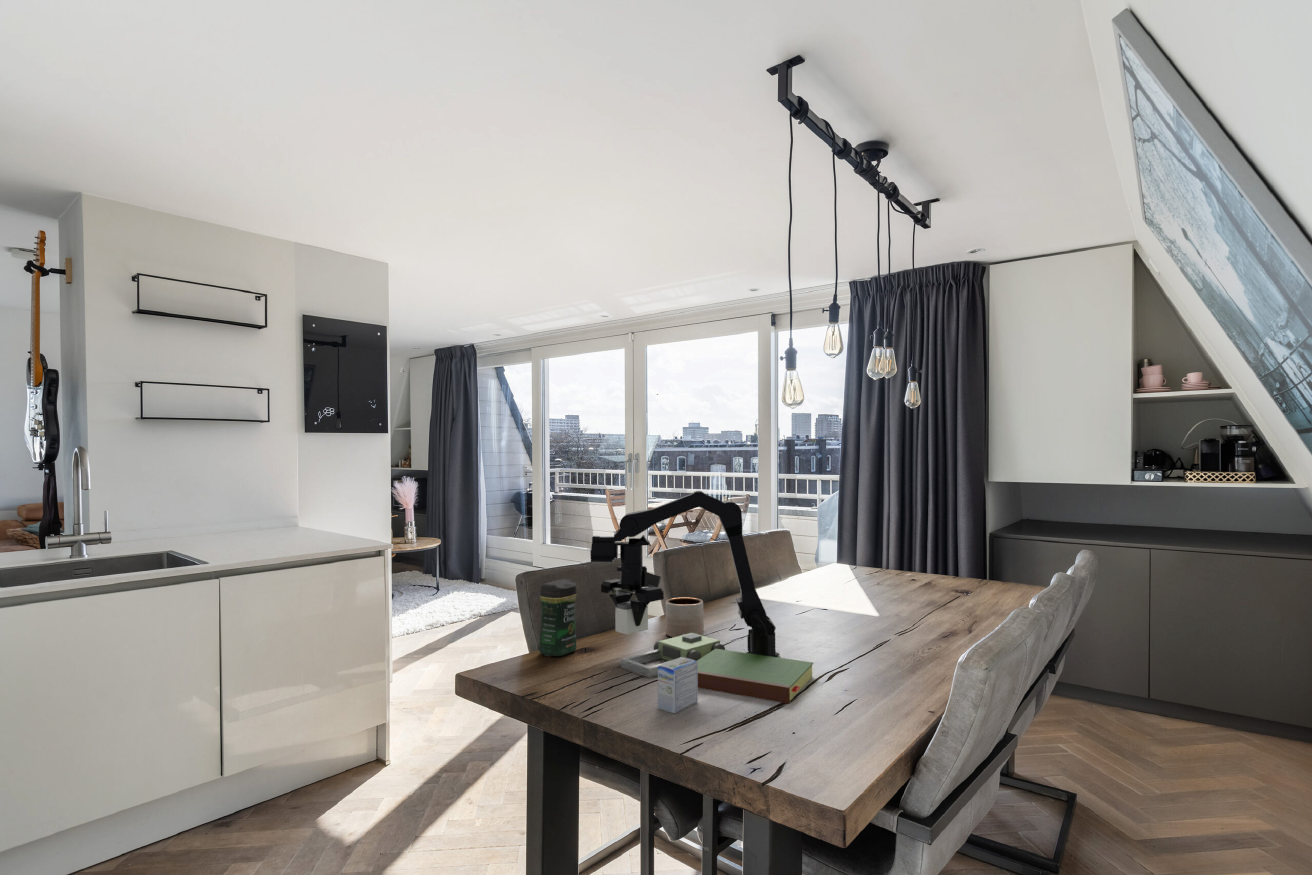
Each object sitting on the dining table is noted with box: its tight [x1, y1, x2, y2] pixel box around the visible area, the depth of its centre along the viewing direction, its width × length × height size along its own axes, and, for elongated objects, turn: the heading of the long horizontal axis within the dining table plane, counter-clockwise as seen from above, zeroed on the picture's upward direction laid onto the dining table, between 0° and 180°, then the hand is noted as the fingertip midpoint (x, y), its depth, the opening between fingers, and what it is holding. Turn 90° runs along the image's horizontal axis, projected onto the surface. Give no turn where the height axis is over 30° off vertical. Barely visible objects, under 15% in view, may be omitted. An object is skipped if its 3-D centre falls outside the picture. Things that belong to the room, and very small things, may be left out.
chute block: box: [614, 600, 649, 635], centre depth 168 cm, size 4×7×7 cm, turn 132°
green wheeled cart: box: [653, 633, 726, 662], centre depth 167 cm, size 13×12×5 cm
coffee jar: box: [538, 578, 577, 658], centre depth 172 cm, size 10×8×19 cm
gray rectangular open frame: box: [620, 649, 669, 679], centre depth 159 cm, size 10×12×2 cm
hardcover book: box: [697, 649, 814, 704], centre depth 148 cm, size 25×19×4 cm
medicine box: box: [657, 657, 699, 714], centre depth 134 cm, size 8×4×9 cm, turn 141°
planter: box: [665, 596, 705, 638], centre depth 188 cm, size 11×11×10 cm
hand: (631, 624), depth 168 cm, fingers closed on chute block, 4 cm apart
